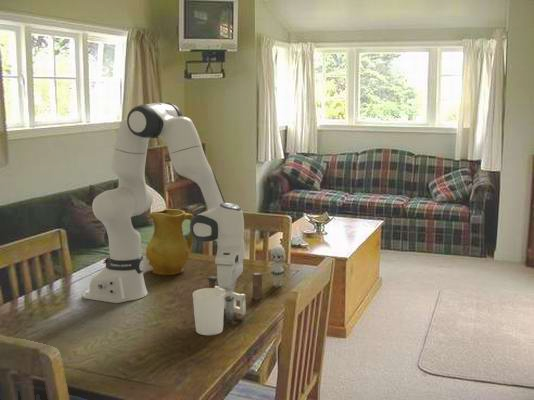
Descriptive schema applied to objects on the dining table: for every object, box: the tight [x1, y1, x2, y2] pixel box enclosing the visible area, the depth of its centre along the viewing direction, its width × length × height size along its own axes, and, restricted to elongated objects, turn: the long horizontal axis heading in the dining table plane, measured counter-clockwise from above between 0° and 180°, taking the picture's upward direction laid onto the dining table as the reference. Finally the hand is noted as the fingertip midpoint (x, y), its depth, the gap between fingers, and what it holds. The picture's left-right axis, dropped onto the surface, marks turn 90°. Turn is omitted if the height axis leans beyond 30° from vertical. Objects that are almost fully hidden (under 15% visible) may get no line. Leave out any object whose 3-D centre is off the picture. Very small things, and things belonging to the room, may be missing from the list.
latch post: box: [225, 296, 234, 324], centre depth 207 cm, size 3×3×8 cm
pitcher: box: [145, 208, 195, 276], centre depth 262 cm, size 17×19×25 cm
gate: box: [214, 285, 247, 316], centre depth 214 cm, size 14×1×6 cm, turn 46°
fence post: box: [252, 271, 263, 301], centre depth 229 cm, size 2×2×9 cm
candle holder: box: [192, 287, 225, 336], centre depth 199 cm, size 10×10×12 cm
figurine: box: [265, 245, 292, 287], centre depth 245 cm, size 10×6×15 cm, turn 68°
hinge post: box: [207, 276, 218, 288], centre depth 219 cm, size 3×3×11 cm
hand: (231, 293), depth 216 cm, fingers closed
